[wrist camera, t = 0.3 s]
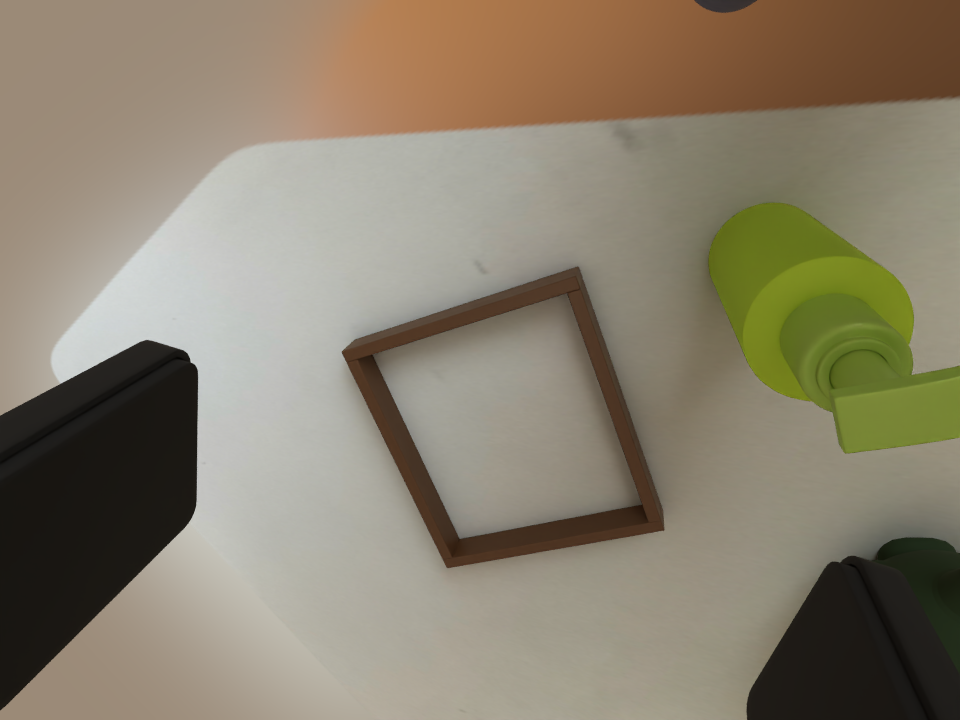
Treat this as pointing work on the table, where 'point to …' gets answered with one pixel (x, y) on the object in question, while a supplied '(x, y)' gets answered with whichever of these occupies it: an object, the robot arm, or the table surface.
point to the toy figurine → (931, 583)
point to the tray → (416, 473)
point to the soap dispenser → (829, 329)
